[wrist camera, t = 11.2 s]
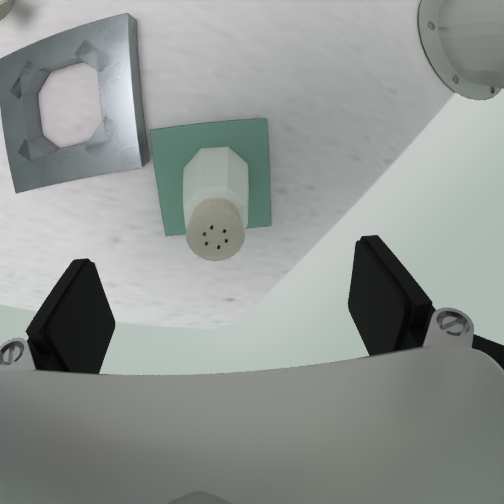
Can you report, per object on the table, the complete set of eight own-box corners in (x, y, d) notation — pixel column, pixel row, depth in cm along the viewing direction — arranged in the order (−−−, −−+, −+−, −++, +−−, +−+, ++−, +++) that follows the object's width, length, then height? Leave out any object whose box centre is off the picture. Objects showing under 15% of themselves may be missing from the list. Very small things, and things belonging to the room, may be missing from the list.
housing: (136, 20, 18) (127, 12, 16) (149, 160, 24) (141, 168, 22) (13, 60, 18) (-3, 60, 15) (30, 184, 23) (15, 193, 21)
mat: (265, 118, 23) (266, 118, 23) (270, 223, 28) (271, 226, 27) (151, 129, 23) (149, 130, 22) (166, 233, 27) (165, 236, 27)
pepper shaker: (173, 198, 25) (147, 269, 15) (194, 135, 23) (176, 166, 13) (236, 218, 26) (248, 296, 17) (260, 157, 24) (290, 203, 15)
